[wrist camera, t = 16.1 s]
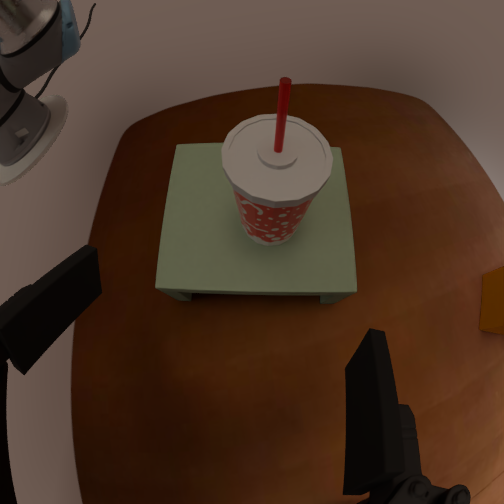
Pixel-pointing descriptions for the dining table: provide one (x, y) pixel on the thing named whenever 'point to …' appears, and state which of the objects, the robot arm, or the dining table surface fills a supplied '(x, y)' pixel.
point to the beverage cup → (275, 170)
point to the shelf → (244, 248)
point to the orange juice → (492, 302)
